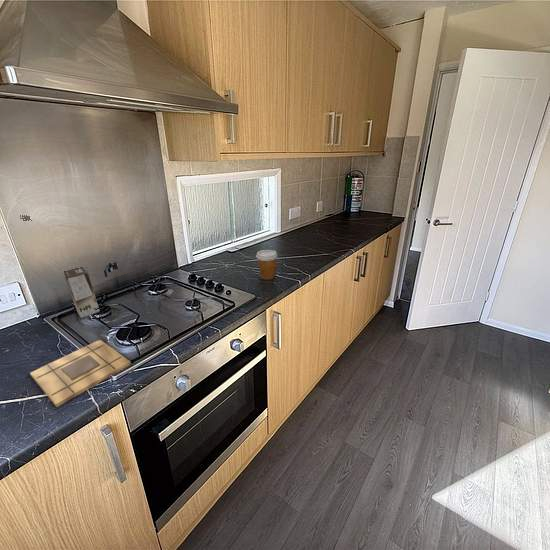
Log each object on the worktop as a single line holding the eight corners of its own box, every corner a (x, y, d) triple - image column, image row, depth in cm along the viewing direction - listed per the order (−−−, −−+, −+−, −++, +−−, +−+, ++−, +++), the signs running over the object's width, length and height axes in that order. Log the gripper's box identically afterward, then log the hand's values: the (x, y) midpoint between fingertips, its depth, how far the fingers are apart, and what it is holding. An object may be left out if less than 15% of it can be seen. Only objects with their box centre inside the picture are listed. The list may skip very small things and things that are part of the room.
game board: (57, 409, 68) (55, 403, 67) (31, 377, 78) (29, 372, 77) (131, 365, 81) (130, 360, 80) (101, 343, 91) (99, 338, 90)
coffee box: (100, 312, 109) (88, 272, 102) (81, 319, 105) (67, 278, 98) (94, 304, 115) (82, 266, 108) (75, 310, 111) (62, 271, 105)
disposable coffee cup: (265, 272, 140) (264, 248, 135) (282, 276, 134) (281, 251, 130) (253, 279, 133) (251, 254, 128) (269, 283, 127) (268, 258, 123)
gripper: (129, 262, 137) (123, 280, 118) (69, 270, 130) (52, 290, 112) (126, 247, 134) (119, 263, 115) (63, 254, 127) (45, 272, 109)
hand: (86, 276), depth 113 cm, fingers open, 13 cm apart
